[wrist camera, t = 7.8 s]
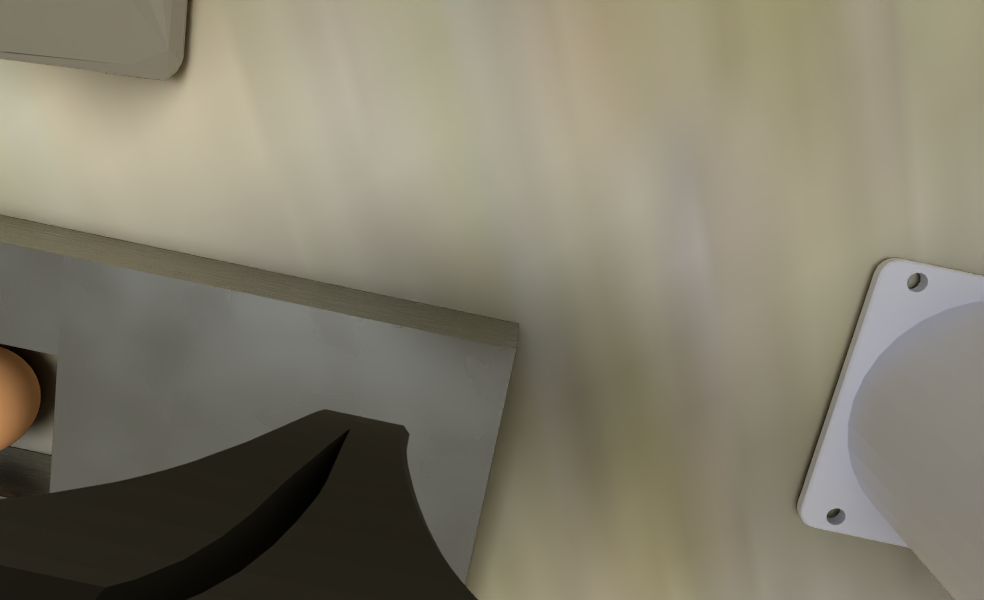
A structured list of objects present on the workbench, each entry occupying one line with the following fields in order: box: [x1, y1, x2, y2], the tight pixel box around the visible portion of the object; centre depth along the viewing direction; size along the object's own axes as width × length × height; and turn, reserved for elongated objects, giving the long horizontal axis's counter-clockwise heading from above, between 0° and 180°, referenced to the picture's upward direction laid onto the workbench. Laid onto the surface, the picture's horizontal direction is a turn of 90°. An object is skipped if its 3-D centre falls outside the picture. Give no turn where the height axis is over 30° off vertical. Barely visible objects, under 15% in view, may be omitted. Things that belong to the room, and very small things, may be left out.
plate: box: [0, 215, 519, 585], centre depth 21 cm, size 18×10×2 cm, turn 78°
